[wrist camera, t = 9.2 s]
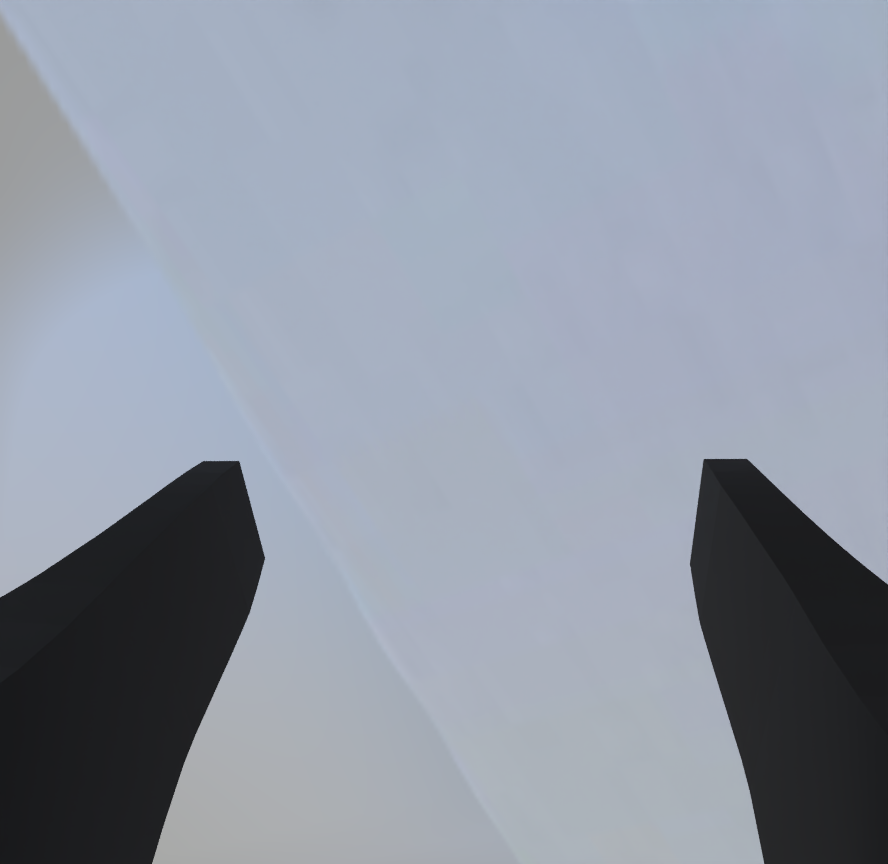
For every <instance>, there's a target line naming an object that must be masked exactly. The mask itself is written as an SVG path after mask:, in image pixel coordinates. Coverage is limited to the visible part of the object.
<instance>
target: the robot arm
mask: <svg viewBox="0 0 888 864" xmlns="http://www.w3.org/2000/svg"><path fill="white" fill-rule="evenodd" d="M264 560H265V557H264V553H263V549H262V545H261V541H260V538H259V534H258V530H257V526H256V523H255V519H254V515H253V511H252V508H251V504H250V500H249V496H248V493H247V489H246V485H245V481H244V478H243V474H242V470H241V466H240V463H239V461H203V462H201V463H200V464H198V465H197V466H195V467H193V468H192V469H190V470H189V471H187V472H186V473H184V474H183V475H181V476H180V477H178V478H177V479H175V480H174V481H173V482H171V483H170V484H168V485H167V486H166V487H164V488H163V489H162V490H160V491H159V492H157V493H156V494H155V495H153V496H152V497H151V498H150V499H148V500H147V501H145V502H144V503H142V504H141V505H140V506H138V507H137V508H135V509H134V510H133V511H131V512H130V513H129V514H127V515H126V516H124V517H123V518H122V519H120V520H119V521H117V522H116V523H115V524H113V525H112V526H110V527H109V528H108V529H106V530H105V531H104V532H102V533H101V534H99V535H98V536H96V537H95V538H93V539H92V540H90V541H89V542H87V543H86V544H84V545H83V546H81V547H80V548H78V549H77V550H75V551H74V552H72V553H71V554H69V555H68V556H66V557H65V558H63V559H62V560H60V561H59V562H57V563H56V564H54V565H53V566H51V567H50V568H48V569H47V570H45V571H44V572H42V573H41V574H39V575H37V576H36V577H34V578H32V579H31V580H29V581H28V582H26V583H25V584H23V585H21V586H19V587H18V588H16V589H14V590H13V591H11V592H9V593H8V594H6V595H4V596H2V597H0V864H152V862H153V858H154V855H155V852H156V849H157V845H158V842H159V839H160V835H161V832H162V828H163V825H164V822H165V819H166V816H167V813H168V810H169V807H170V804H171V801H172V798H173V795H174V792H175V789H176V786H177V782H178V780H179V777H180V774H181V771H182V768H183V765H184V762H185V759H186V757H187V754H188V752H189V749H190V747H191V744H192V741H193V739H194V737H195V734H196V732H197V730H198V728H199V726H200V723H201V721H202V719H203V716H204V714H205V712H206V710H207V707H208V705H209V703H210V701H211V699H212V697H213V694H214V692H215V690H216V688H217V685H218V683H219V681H220V679H221V677H222V674H223V672H224V670H225V668H226V665H227V663H228V661H229V659H230V657H231V654H232V652H233V650H234V647H235V645H236V643H237V640H238V638H239V636H240V634H241V632H242V629H243V627H244V625H245V622H246V620H247V617H248V615H249V613H250V609H251V606H252V602H253V600H254V596H255V593H256V590H257V586H258V582H259V579H260V575H261V571H262V567H263V564H264ZM690 567H691V573H692V579H693V585H694V592H695V598H696V603H697V609H698V615H699V620H700V625H701V628H702V632H703V635H704V639H705V642H706V645H707V648H708V652H709V655H710V658H711V662H712V665H713V668H714V672H715V675H716V678H717V681H718V685H719V688H720V691H721V694H722V698H723V701H724V704H725V707H726V710H727V714H728V717H729V720H730V723H731V727H732V730H733V733H734V736H735V740H736V743H737V746H738V749H739V753H740V756H741V759H742V763H743V767H744V770H745V774H746V778H747V782H748V786H749V790H750V794H751V799H752V804H753V809H754V814H755V819H756V824H757V829H758V834H759V839H760V844H761V849H762V854H763V859H764V864H888V584H886V583H885V582H884V581H883V580H881V579H880V578H879V577H878V576H876V575H875V574H874V573H872V572H871V571H870V570H869V569H867V568H866V567H865V566H864V565H862V564H861V563H860V562H859V561H858V560H856V559H855V558H854V557H853V556H852V555H850V554H849V553H848V552H847V551H846V550H844V549H843V548H842V547H841V546H840V545H839V544H838V543H836V542H835V541H834V540H833V539H832V538H831V537H830V536H828V535H827V534H826V533H825V532H824V531H823V530H822V529H821V528H819V527H818V526H817V525H816V524H815V523H814V522H813V521H812V520H811V519H810V518H808V517H807V516H806V515H805V514H804V513H803V512H802V511H801V510H800V509H799V508H798V507H797V506H796V505H795V504H794V503H792V502H791V501H790V500H789V499H788V498H787V497H786V496H785V495H784V494H783V493H782V492H781V491H780V490H779V489H778V488H777V487H776V486H775V485H774V484H773V483H772V482H771V481H769V480H768V479H767V478H766V477H765V476H764V475H763V474H762V473H761V472H760V471H759V470H758V469H757V468H756V467H755V466H754V465H753V464H752V463H751V462H750V461H748V460H747V459H704V461H703V469H702V477H701V484H700V492H699V499H698V507H697V515H696V522H695V530H694V538H693V545H692V553H691V560H690Z"/></svg>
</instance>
